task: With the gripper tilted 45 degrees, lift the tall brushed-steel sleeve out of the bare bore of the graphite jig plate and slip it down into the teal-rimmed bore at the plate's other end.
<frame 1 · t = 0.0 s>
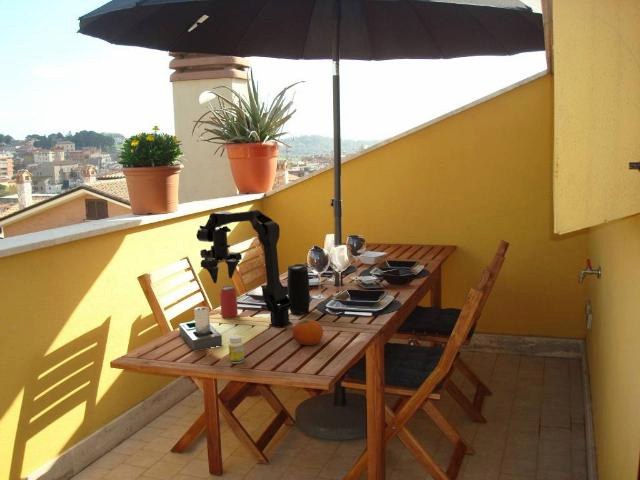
hand: (222, 280, 256), 15 cm above the table, tool pointing down, fingers open, 9 cm apart
jig plate: (200, 339, 229), on the table
portable speaker: (299, 312, 258), on the table
supplement bottle: (237, 361, 206), on the table
steel sleeve: (204, 344, 224), resting in jig plate
beer can: (229, 316, 257), on the table
fruit: (308, 344, 220), on the table
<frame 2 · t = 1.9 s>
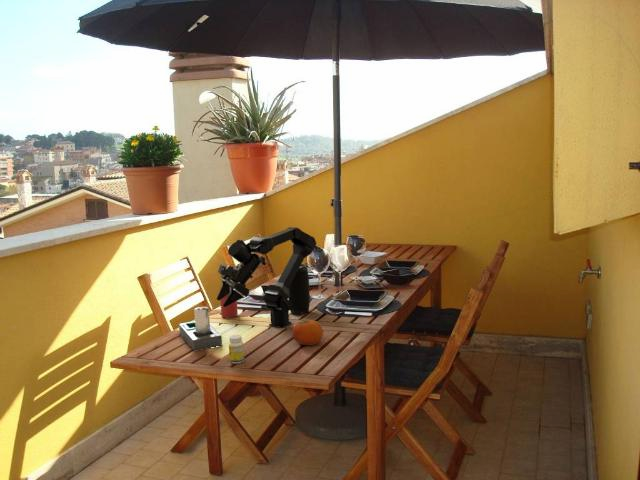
hand: (220, 303, 226), 13 cm above the table, tool tilted 40°, fingers open, 9 cm apart
nothing on the table moved.
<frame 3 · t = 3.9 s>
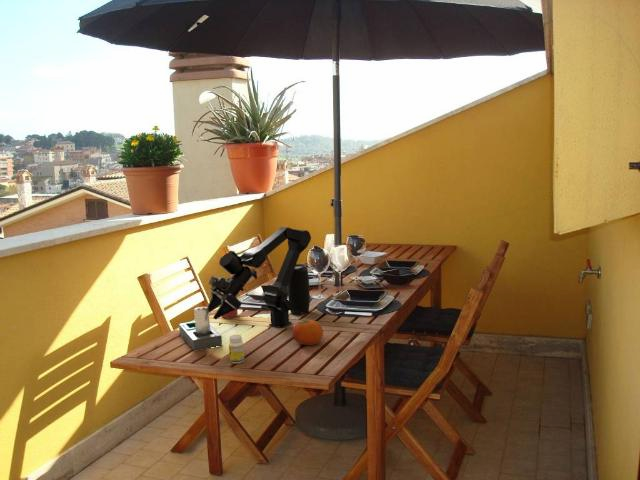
hand: (210, 315, 223), 10 cm above the table, tool tilted 45°, fingers open, 9 cm apart
nothing on the table moved.
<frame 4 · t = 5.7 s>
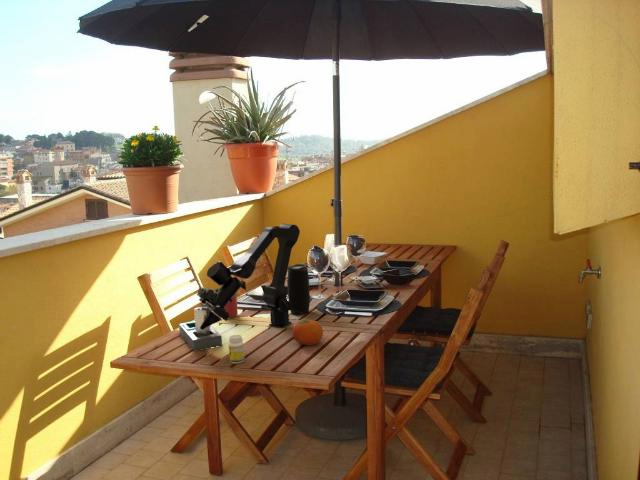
hand: (198, 326, 222), 7 cm above the table, tool tilted 45°, fingers closed on steel sleeve, 5 cm apart
steel sleeve: (204, 344, 224), resting in jig plate, touching gripper
everything else where it was.
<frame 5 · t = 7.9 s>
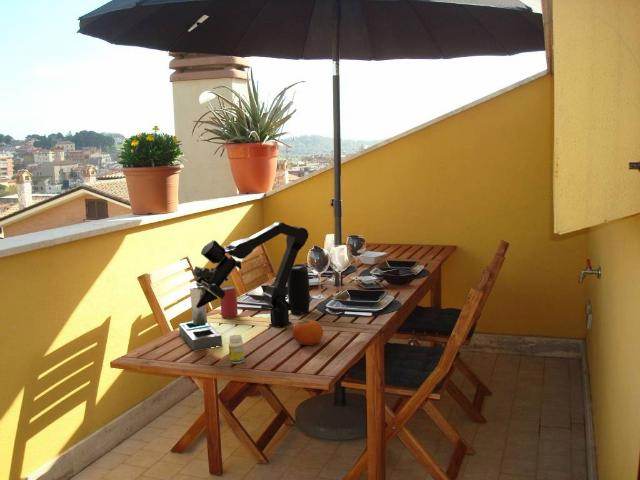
hand: (194, 305, 225), 13 cm above the table, tool tilted 45°, fingers closed on steel sleeve, 5 cm apart
steel sleeve: (200, 322, 226), point 7 cm above the table, touching gripper
everything else where it was.
when the fingers open (7 cm above the table, at t = 10.3 s): steel sleeve stays where it is, resting in jig plate.
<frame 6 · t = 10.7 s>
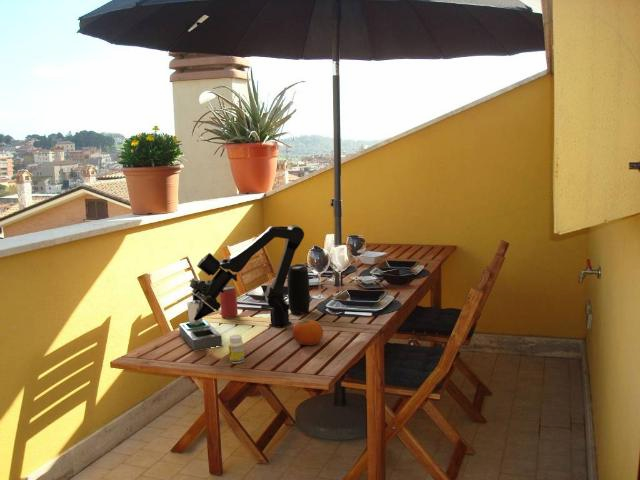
hand: (191, 316, 231), 8 cm above the table, tool tilted 45°, fingers open, 9 cm apart
steel sleeve: (196, 335, 233), resting in jig plate
everything else where it was.
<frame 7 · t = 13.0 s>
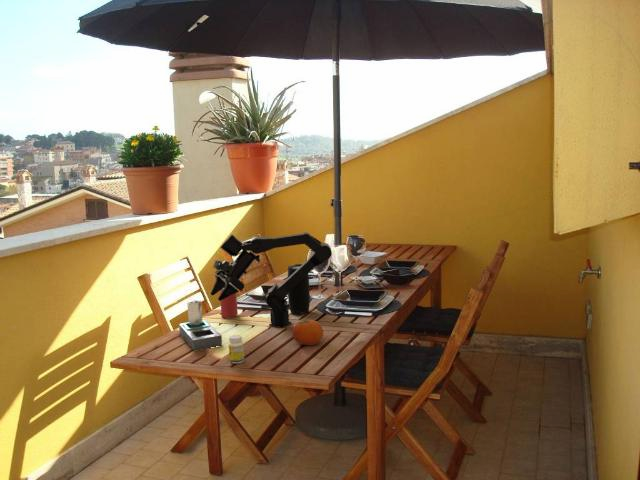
hand: (215, 297, 234), 14 cm above the table, tool tilted 45°, fingers open, 9 cm apart
nothing on the table moved.
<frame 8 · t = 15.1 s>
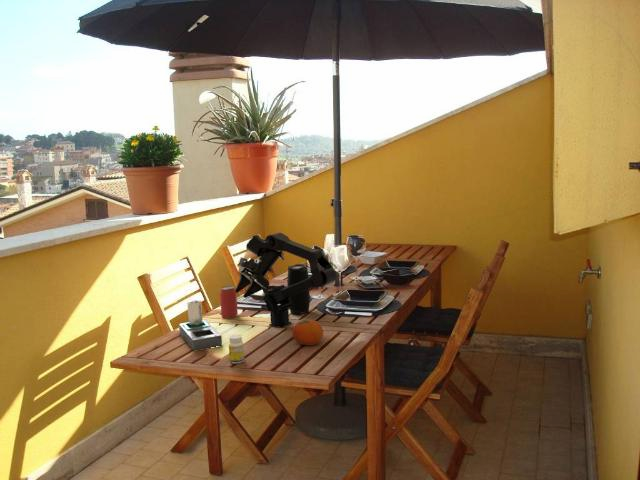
hand: (239, 294, 237), 14 cm above the table, tool tilted 45°, fingers open, 9 cm apart
nothing on the table moved.
at the end: steel sleeve 0.0 cm from the target spot, resting in jig plate; steel sleeve tilted 0°; the gripper is holding nothing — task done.
